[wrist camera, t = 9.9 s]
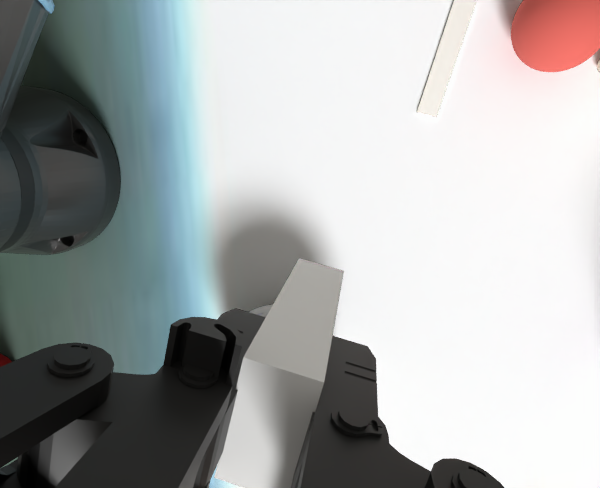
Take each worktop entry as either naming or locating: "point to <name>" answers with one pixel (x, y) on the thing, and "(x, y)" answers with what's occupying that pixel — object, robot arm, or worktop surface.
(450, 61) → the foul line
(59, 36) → the worktop surface
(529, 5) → the ball
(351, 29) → the worktop surface
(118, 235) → the worktop surface
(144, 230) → the worktop surface
